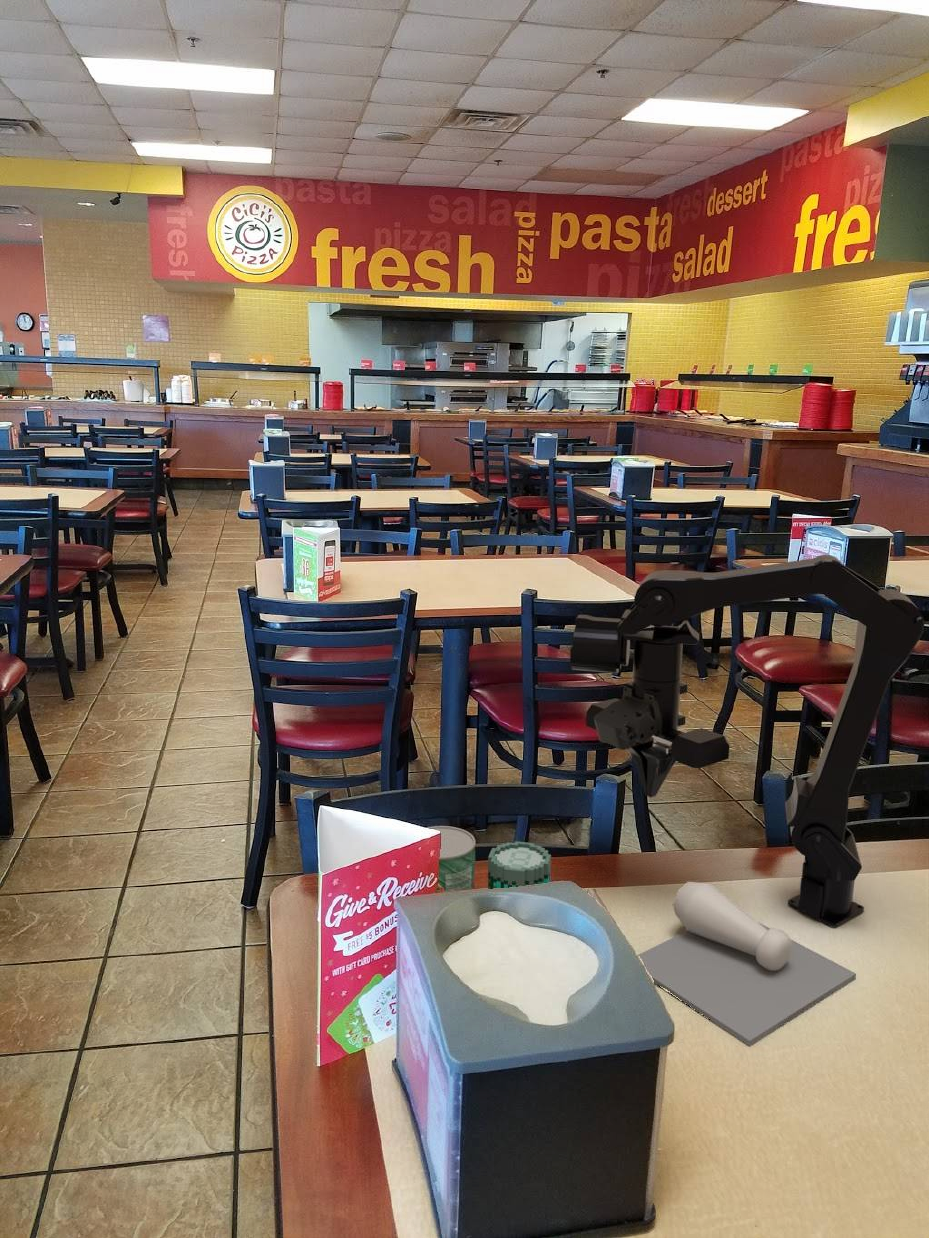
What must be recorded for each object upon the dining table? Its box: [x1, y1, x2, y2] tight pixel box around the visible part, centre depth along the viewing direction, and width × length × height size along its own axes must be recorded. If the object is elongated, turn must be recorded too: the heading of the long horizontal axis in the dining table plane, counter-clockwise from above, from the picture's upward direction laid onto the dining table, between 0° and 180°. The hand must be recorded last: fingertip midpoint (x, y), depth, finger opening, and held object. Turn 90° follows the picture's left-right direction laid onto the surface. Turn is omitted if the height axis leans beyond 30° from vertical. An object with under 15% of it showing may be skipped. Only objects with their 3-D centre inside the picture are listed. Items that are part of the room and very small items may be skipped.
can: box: [487, 840, 552, 890], centre depth 93 cm, size 6×6×15 cm
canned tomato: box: [426, 825, 477, 892], centre depth 105 cm, size 8×8×11 cm
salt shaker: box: [672, 881, 792, 971], centre depth 101 cm, size 6×6×13 cm
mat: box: [637, 921, 857, 1047], centre depth 98 cm, size 18×16×1 cm
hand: (650, 795), depth 113 cm, fingers closed
